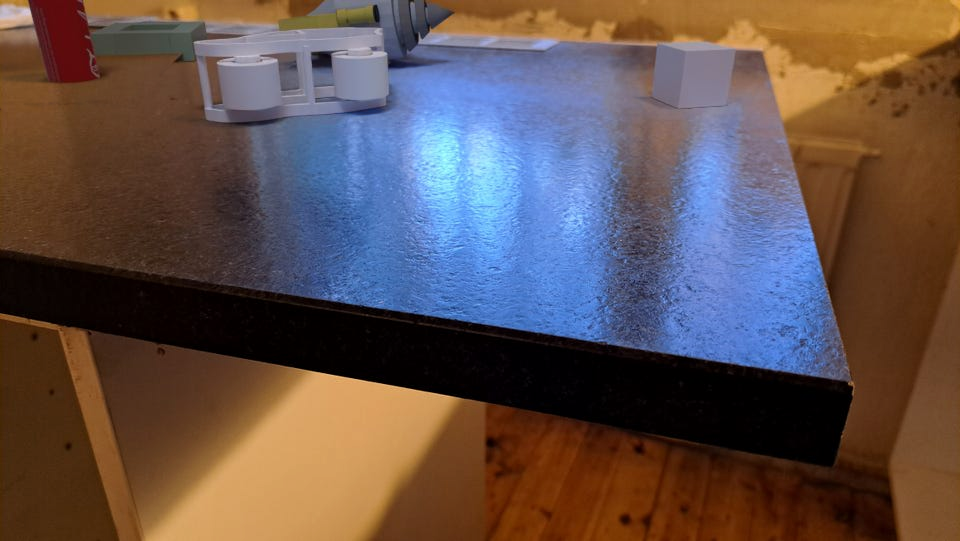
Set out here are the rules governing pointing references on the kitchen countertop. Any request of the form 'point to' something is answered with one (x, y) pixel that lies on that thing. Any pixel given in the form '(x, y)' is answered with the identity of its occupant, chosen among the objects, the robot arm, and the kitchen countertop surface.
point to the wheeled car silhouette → (257, 81)
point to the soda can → (64, 40)
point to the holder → (150, 39)
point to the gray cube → (692, 74)
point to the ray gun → (375, 21)
